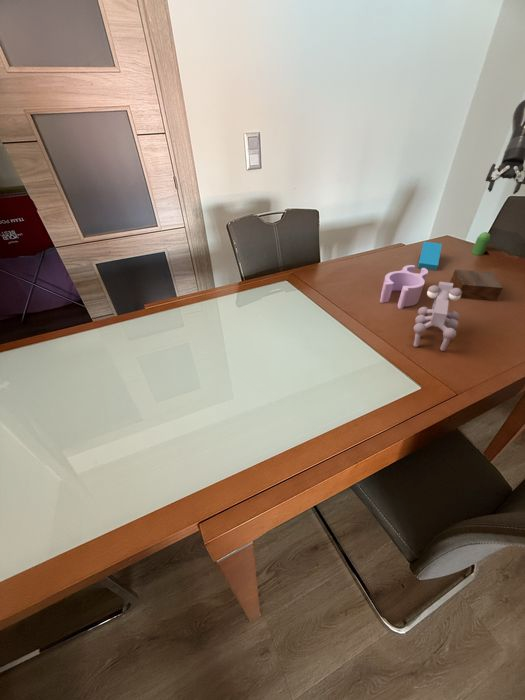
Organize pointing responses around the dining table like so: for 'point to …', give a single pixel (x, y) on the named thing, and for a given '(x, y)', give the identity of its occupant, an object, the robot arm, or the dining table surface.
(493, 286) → the walnut block
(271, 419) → the dining table surface
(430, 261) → the blue rectangular brick
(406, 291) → the clip
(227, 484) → the dining table surface
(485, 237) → the green toy
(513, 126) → the robot arm
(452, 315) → the mauve bug toy
